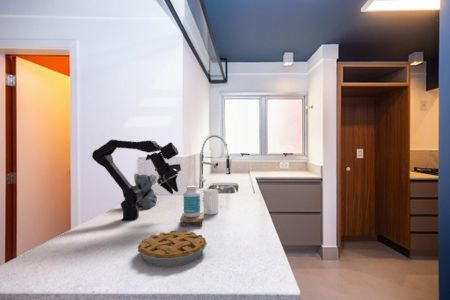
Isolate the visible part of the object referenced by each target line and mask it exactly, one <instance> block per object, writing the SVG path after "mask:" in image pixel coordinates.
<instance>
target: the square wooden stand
mask: <svg viewBox="0 0 450 300" xmlns="http://www.w3.org/2000/svg"><path fill="white" fill-rule="evenodd" d="M204 217H205V214H204V213H203V212H200V215H199V216H198V217H185V216H184V212H182V215H181V216H180V218H179V221H180V222H181V227H186V223H188V222H190V223H191V222H198V226H199V227H202V226H203V222H204V219H205V218H204Z"/></svg>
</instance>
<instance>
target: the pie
mask: <svg viewBox="0 0 450 300" xmlns="http://www.w3.org/2000/svg"><path fill="white" fill-rule="evenodd" d="M207 245H208V243H207V241H206V237H203V235H202V234H197V233H195V232H192V231H190V232H187V231H186V230H183V231H177V230H173V231H172V230H171V231H170V232H160V233H159V234H152V235H150V237H148V238H144V239H142V240H141V242H139V244H138V245H137V252H138V253H139V254H140V255H141V258H142V259H143V260H144V261H145V262H147V263H148V264H150V265H154V266H157V267H163V266H164V268H173V267H178V266H182V265H186V264H189V263H191V262H194V261H195V260H196V259H198V258H200V257H201V255H202V254H203V251H204V250H205V249H206V247H207Z"/></svg>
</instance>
